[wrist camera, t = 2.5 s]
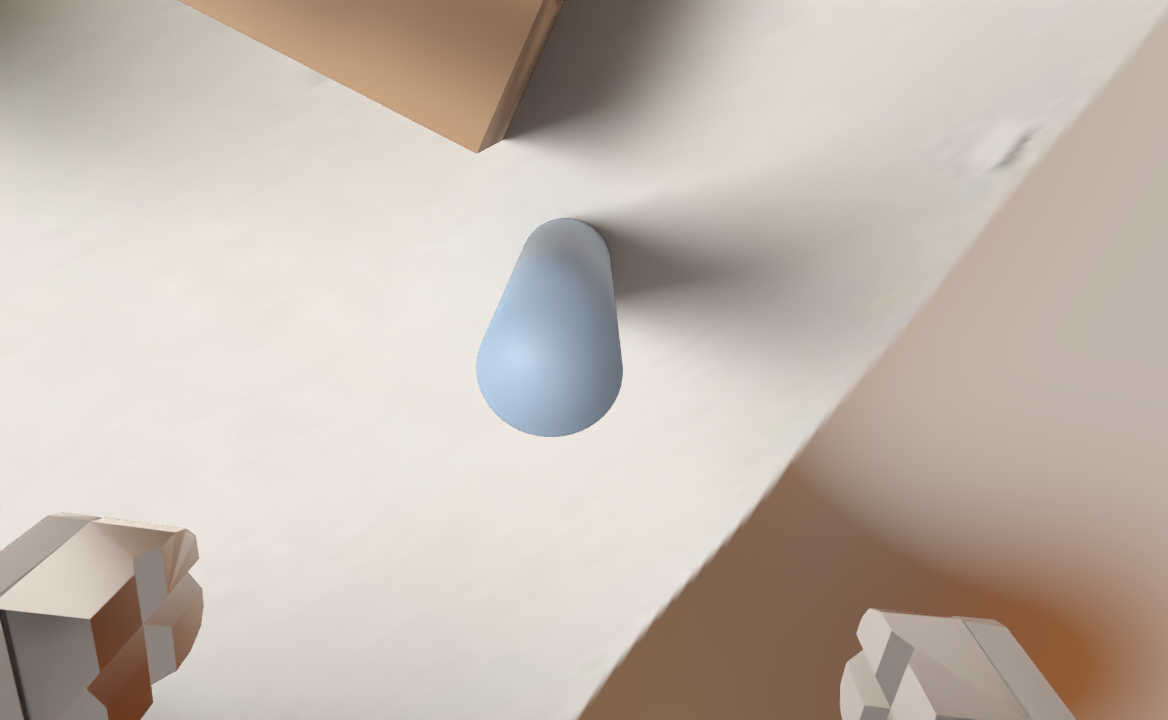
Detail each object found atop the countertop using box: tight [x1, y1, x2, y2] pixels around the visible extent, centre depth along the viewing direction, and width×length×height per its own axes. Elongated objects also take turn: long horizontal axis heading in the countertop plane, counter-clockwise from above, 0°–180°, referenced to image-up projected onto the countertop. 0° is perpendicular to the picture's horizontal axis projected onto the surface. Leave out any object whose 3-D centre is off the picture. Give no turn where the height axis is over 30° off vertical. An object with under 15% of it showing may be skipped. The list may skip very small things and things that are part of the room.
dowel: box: [476, 218, 623, 437], centre depth 21 cm, size 3×3×11 cm
